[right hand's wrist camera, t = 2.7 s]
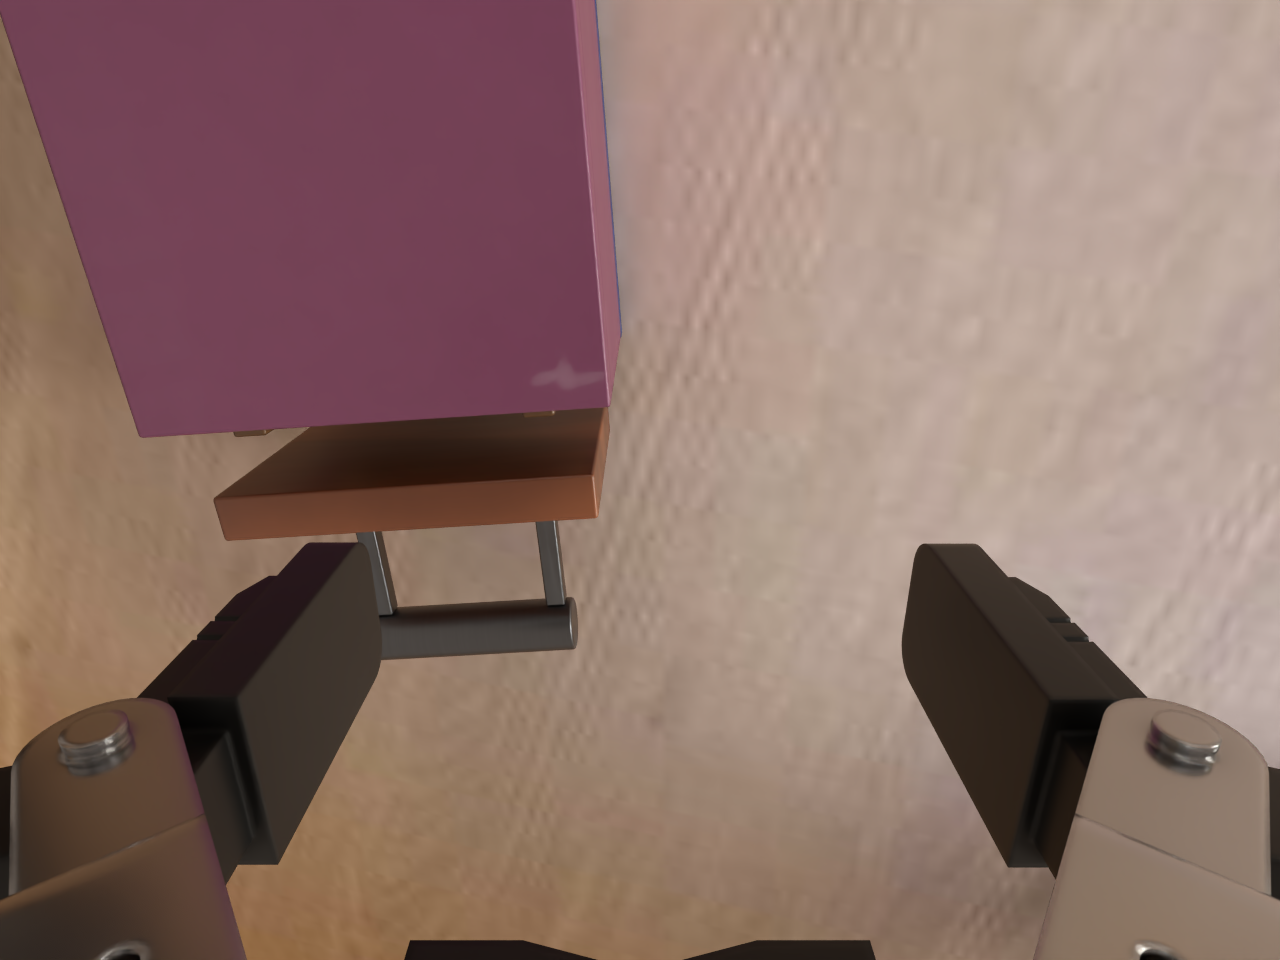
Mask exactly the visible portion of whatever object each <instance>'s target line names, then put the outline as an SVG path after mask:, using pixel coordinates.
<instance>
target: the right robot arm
mask: <svg viewBox="0 0 1280 960" xmlns="http://www.w3.org/2000/svg"><path fill="white" fill-rule="evenodd" d="M381 655H382V634H381V627H380V620H379V613H378V607H377V600H376V594H375V587H374V580H373V574H372V567H371V561H370V556H369V552H368V550H367V548H366V546H365V545H364V544H363V543H308V544H306V545H305V546H304V547H303V548H302V549H301V550H300V551H299V552H298V553H297V554H296V555H295V557H294V558H293V559H292V560H291V561H290V562H289V563H288V564H287V565H286V566H285V568H284V569H283V570H282V571H281V572H280V573H279V574H278V575H277V576H268V577H266V578H265V579H263V580H261V581H259V582H258V583H256V584H254V585H252V586H251V587H249V588H247V589H245V590H244V591H242V592H240V593H238V594H237V595H236V596H235V597H234V598H233V599H232V600H231V601H230V602H229V603H228V604H227V605H226V606H225V607H224V608H223V609H222V610H221V611H220V612H219V613H218V614H217V615H216V616H215V621H210V622H209V624H208V625H207V626H206V627H205V628H204V629H203V630H202V631H201V632H200V633H199V634H198V635H197V640H192V641H191V642H190V643H189V644H188V645H187V646H186V647H185V648H184V649H183V651H182V652H181V653H180V654H179V655H178V656H177V657H176V658H175V659H174V660H173V661H172V662H171V663H170V664H169V665H168V666H167V667H166V668H165V669H164V670H163V671H162V672H161V673H160V674H159V675H158V676H157V677H156V679H155V680H154V681H153V682H152V683H151V684H150V685H149V686H148V687H147V688H146V689H145V690H144V691H143V692H142V693H141V694H140V695H139V696H138V697H137V698H129V699H121V700H116V701H111V702H106V703H103V704H99V705H96V706H93V707H90V708H87V709H84V710H82V711H79V712H77V713H75V714H72V715H70V716H68V717H66V718H64V719H62V720H60V721H58V722H57V723H55V724H53V725H52V726H50V727H48V728H47V729H45V730H44V731H42V732H41V733H40V734H38V735H37V736H36V737H35V738H33V739H32V740H31V741H30V742H29V743H28V744H27V745H26V746H25V747H24V748H23V749H22V750H21V752H20V753H19V754H18V756H17V757H16V759H15V761H14V763H13V765H12V766H8V767H3V768H0V960H247V958H246V955H245V951H244V948H243V944H242V941H241V937H240V934H239V930H238V927H237V923H236V920H235V916H234V913H233V909H232V906H231V902H230V899H229V895H228V892H227V888H226V884H227V882H228V881H229V879H230V877H231V875H232V874H233V872H234V870H235V869H236V867H237V865H278V863H279V862H280V860H281V858H282V856H283V854H284V852H285V850H286V848H287V846H288V844H289V843H290V841H291V839H292V837H293V835H294V833H295V831H296V829H297V827H298V825H299V824H300V822H301V820H302V818H303V816H304V814H305V812H306V810H307V808H308V806H309V805H310V803H311V801H312V799H313V797H314V795H315V793H316V791H317V789H318V787H319V786H320V784H321V782H322V780H323V778H324V776H325V774H326V772H327V770H328V768H329V766H330V765H331V763H332V761H333V759H334V757H335V755H336V753H337V751H338V749H339V747H340V746H341V744H342V742H343V740H344V738H345V736H346V734H347V732H348V730H349V728H350V727H351V725H352V723H353V721H354V719H355V717H356V715H357V713H358V711H359V709H360V708H361V706H362V704H363V702H364V700H365V698H366V696H367V694H368V692H369V690H370V689H371V687H372V685H373V683H374V681H375V679H376V677H377V674H378V671H379V667H380V662H381ZM902 657H903V664H904V669H905V672H906V675H907V678H908V680H909V682H910V684H911V686H912V688H913V690H914V692H915V694H916V695H917V697H918V699H919V701H920V703H921V705H922V707H923V709H924V710H925V712H926V714H927V716H928V718H929V720H930V722H931V724H932V726H933V727H934V729H935V731H936V733H937V735H938V737H939V739H940V741H941V742H942V744H943V746H944V748H945V750H946V752H947V754H948V756H949V757H950V759H951V761H952V763H953V765H954V767H955V769H956V771H957V772H958V774H959V776H960V778H961V780H962V782H963V784H964V786H965V788H966V789H967V791H968V793H969V795H970V797H971V799H972V801H973V803H974V804H975V806H976V808H977V810H978V812H979V814H980V816H981V818H982V819H983V821H984V823H985V825H986V827H987V829H988V831H989V833H990V834H991V836H992V838H993V840H994V842H995V844H996V846H997V848H998V850H999V851H1000V853H1001V855H1002V857H1003V859H1004V861H1005V863H1006V865H1007V866H1008V867H1049V869H1050V871H1051V872H1052V874H1053V876H1054V877H1055V879H1056V881H1055V885H1054V888H1053V892H1052V895H1051V899H1050V902H1049V906H1048V909H1047V913H1046V916H1045V920H1044V923H1043V927H1042V930H1041V934H1040V937H1039V941H1038V944H1037V948H1036V951H1035V955H1034V958H1033V960H1280V769H1276V768H1271V767H1268V765H1267V763H1266V761H1265V759H1264V757H1263V756H1262V754H1261V753H1260V752H1259V750H1258V749H1257V748H1256V747H1255V746H1254V745H1253V744H1252V743H1251V742H1250V741H1249V740H1248V739H1247V738H1245V737H1244V736H1243V735H1242V734H1240V733H1239V732H1238V731H1236V730H1235V729H1233V728H1232V727H1230V726H1228V725H1227V724H1225V723H1223V722H1222V721H1220V720H1218V719H1216V718H1214V717H1212V716H1210V715H1208V714H1205V713H1203V712H1201V711H1198V710H1196V709H1193V708H1190V707H1187V706H1184V705H1181V704H1177V703H1174V702H1169V701H1164V700H1159V699H1151V698H1147V697H1146V696H1145V695H1144V694H1143V693H1142V691H1141V690H1140V689H1139V688H1138V687H1137V686H1136V685H1135V684H1134V683H1133V682H1132V681H1131V680H1130V679H1129V678H1128V677H1127V676H1126V675H1125V674H1124V673H1123V672H1122V671H1121V670H1120V669H1119V668H1118V667H1117V666H1116V665H1115V664H1114V663H1113V662H1112V661H1111V660H1110V659H1109V658H1108V657H1107V655H1106V654H1105V653H1104V652H1103V651H1102V650H1101V649H1100V648H1099V647H1098V646H1097V645H1096V644H1095V643H1094V642H1089V640H1088V636H1087V635H1086V634H1085V633H1084V632H1083V631H1082V630H1081V629H1080V628H1079V627H1078V626H1077V625H1076V624H1075V623H1071V622H1070V617H1069V616H1068V615H1067V614H1066V613H1065V612H1064V611H1063V610H1062V609H1061V608H1060V607H1059V606H1058V605H1057V604H1056V603H1055V602H1054V601H1053V600H1052V599H1051V598H1050V597H1049V596H1048V595H1046V594H1044V593H1042V592H1041V591H1039V590H1037V589H1035V588H1034V587H1032V586H1030V585H1028V584H1027V583H1025V582H1023V581H1021V580H1020V579H1018V578H1016V577H1007V576H1006V574H1005V573H1004V572H1003V571H1002V570H1001V569H1000V568H999V567H998V566H997V565H996V564H995V562H994V561H993V560H992V559H991V558H990V557H989V556H988V555H987V554H986V553H985V552H984V550H983V549H982V548H981V547H980V546H978V545H977V544H922V545H921V546H919V548H918V549H917V552H916V554H915V558H914V563H913V569H912V576H911V582H910V589H909V595H908V602H907V608H906V615H905V621H904V628H903V635H902ZM404 960H596V959H592V958H588V957H584V956H580V955H577V954H573V953H569V952H565V951H561V950H558V949H554V948H550V947H546V946H542V945H539V944H535V943H531V942H527V941H523V940H410V942H409V946H408V949H407V952H406V956H405V959H404ZM684 960H876V959H875V956H874V952H873V949H872V946H871V942H870V940H757V941H753V942H749V943H745V944H741V945H738V946H734V947H730V948H726V949H722V950H719V951H715V952H711V953H707V954H703V955H700V956H696V957H692V958H688V959H684Z"/></svg>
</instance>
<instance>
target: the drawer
mask: <svg viewBox="0 0 1280 960" xmlns="http://www.w3.org/2000/svg"><path fill="white" fill-rule="evenodd" d="M272 430H274V429H268V430H253V431H238V432H234V435H235V436H236V437H244V436H260V435H266V434H268V433H269V432H271V431H272ZM609 432H610V427H609V415H608V407H603V408H588V409H573V410H557V411H542V412H527V413H512V414H497V415H481V416H466V417H451V418H436V419H420V420H405V421H390V422H375V423H359V424H344V425H329V426H314V427H310V428H309V429H307V430H306V431H304V432H303V433H302V434H300V435H299V436H298V437H296V438H295V439H294V440H292V441H291V442H289V443H288V444H287V445H285V446H284V447H283V448H281V449H280V450H279V451H277V452H276V453H275V454H273V455H272V456H270V457H269V458H268V459H266V460H265V461H264V462H262V463H261V464H260V465H258V466H257V467H256V468H254V469H253V470H251V471H250V472H249V473H247V474H246V475H245V476H243V477H242V478H241V479H239V480H238V481H236V482H235V483H234V484H232V485H231V486H230V487H228V488H227V489H226V490H224V491H223V492H222V493H220V494H219V495H217V496H216V497H215V498H214V504H215V508H216V511H217V514H218V518H219V521H220V524H221V527H222V531H223V534H224V537H225V539H226V540H227V541H231V540H247V539H263V538H279V537H296V536H312V535H328V534H345V533H356V535H357V539H358V543H363V544H364V545H365V546H366V548H367V550H368V552H369V556H370V561H371V567H372V574H373V580H374V587H375V594H376V600H377V607H378V613H379V620H380V627H381V634H382V655H381V660H392V659H410V658H428V657H445V656H463V655H481V654H499V653H516V652H534V651H552V650H570V649H575V648H576V645H577V639H578V619H577V609H576V603H575V600H574V598H572V597H566V587H565V579H564V571H563V562H562V554H561V546H560V537H559V529H558V521H557V520H573V519H589V518H597V517H598V513H599V506H600V499H601V491H602V484H603V477H604V469H605V462H606V455H607V447H608V440H609ZM524 522H536V530H537V538H538V545H539V553H540V560H541V568H542V575H543V583H544V591H545V598H546V599H531V600H514V601H496V602H479V603H462V604H445V605H428V606H411V607H397V600H396V596H395V591H394V587H393V582H392V577H391V573H390V568H389V563H388V559H387V554H386V550H385V545H384V540H383V536H382V531H394V530H410V529H426V528H442V527H459V526H475V525H491V524H508V523H524Z"/></svg>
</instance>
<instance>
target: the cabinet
mask: <svg viewBox="0 0 1280 960" xmlns="http://www.w3.org/2000/svg"><path fill="white" fill-rule="evenodd" d="M0 15H1V18H2V21H3V24H4V27H5V30H6V33H7V36H8V39H9V42H10V45H11V48H12V51H13V55H14V58H15V61H16V64H17V67H18V70H19V73H20V76H21V79H22V82H23V85H24V88H25V91H26V94H27V97H28V100H29V103H30V106H31V109H32V112H33V115H34V118H35V121H36V124H37V127H38V130H39V133H40V136H41V139H42V143H43V146H44V149H45V152H46V155H47V158H48V161H49V164H50V167H51V170H52V173H53V176H54V179H55V182H56V185H57V188H58V191H59V194H60V197H61V200H62V203H63V206H64V209H65V212H66V215H67V218H68V221H69V224H70V228H71V231H72V234H73V237H74V240H75V243H76V246H77V249H78V252H79V255H80V258H81V261H82V264H83V267H84V270H85V273H86V276H87V279H88V282H89V285H90V288H91V291H92V294H93V297H94V300H95V303H96V306H97V309H98V313H99V316H100V319H101V322H102V325H103V328H104V331H105V334H106V337H107V340H108V343H109V346H110V349H111V352H112V355H113V358H114V361H115V364H116V367H117V370H118V373H119V376H120V379H121V382H122V385H123V388H124V391H125V394H126V397H127V401H128V404H129V407H130V410H131V413H132V416H133V419H134V422H135V425H136V428H137V431H138V434H139V436H140V437H142V438H146V437H162V436H177V435H192V434H207V433H222V432H238V431H253V430H268V429H283V428H299V427H314V426H329V425H344V424H359V423H375V422H390V421H405V420H420V419H436V418H451V417H466V416H481V415H497V414H512V413H527V412H542V411H557V410H573V409H588V408H603V407H609V406H610V403H611V397H612V390H613V383H614V376H615V370H616V363H617V356H618V350H619V343H620V337H621V335H622V328H621V315H620V302H619V289H618V277H617V264H616V251H615V238H614V225H613V212H612V199H611V187H610V174H609V161H608V148H607V135H606V122H605V110H604V97H603V84H602V71H601V58H600V45H599V33H598V20H597V7H596V0H0Z"/></svg>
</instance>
